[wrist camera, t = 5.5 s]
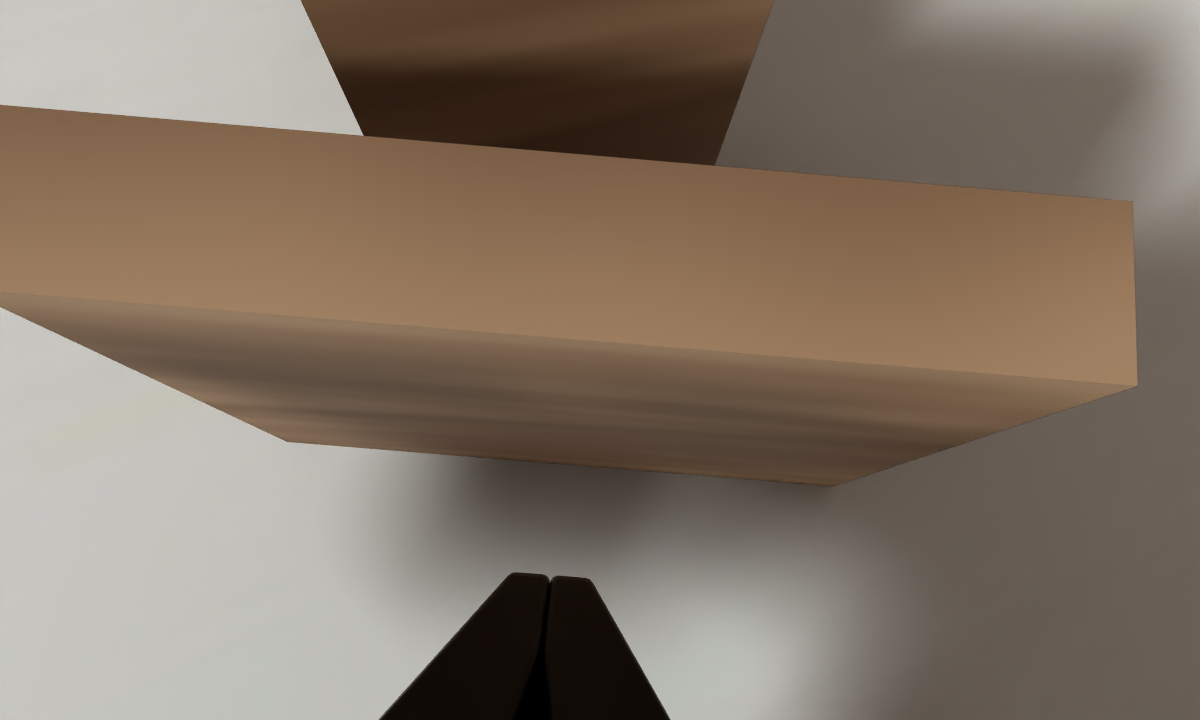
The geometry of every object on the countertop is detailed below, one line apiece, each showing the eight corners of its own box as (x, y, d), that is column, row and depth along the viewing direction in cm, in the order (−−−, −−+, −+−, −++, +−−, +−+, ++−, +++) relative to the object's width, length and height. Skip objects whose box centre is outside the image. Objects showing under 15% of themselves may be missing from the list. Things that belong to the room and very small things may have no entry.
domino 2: (833, 486, 18) (1137, 385, 9) (287, 441, 18) (-38, 288, 8) (836, 396, 19) (1133, 201, 9) (300, 352, 19) (0, 105, 9)
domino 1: (694, 220, 19) (826, -148, 9) (425, 269, 19) (273, -59, 9) (676, 139, 20) (785, -298, 10) (411, 188, 19) (248, -216, 9)
